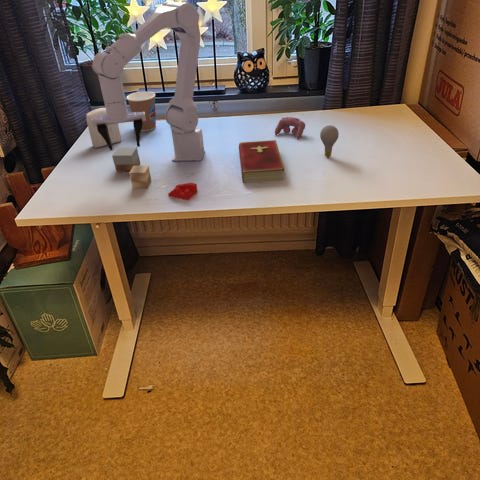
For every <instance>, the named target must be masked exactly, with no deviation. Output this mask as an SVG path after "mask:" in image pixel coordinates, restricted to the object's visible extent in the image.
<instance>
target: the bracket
mask: <svg viewBox="0 0 480 480" xmlns="http://www.w3.org/2000/svg"><path fill="white" fill-rule="evenodd" d="M197 193H198V185H197V183H195V182H186V183H180V184H177V185H175V187H174V188H173V189H172V190H171V191H170V192H168V193H167V195H168V197H172V198H176V199H181V200H185V201H190V200H191V199H192V198H193V197H194V196H195V195H196V194H197Z"/></svg>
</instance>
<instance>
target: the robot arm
mask: <svg viewBox="0 0 480 480" xmlns="http://www.w3.org/2000/svg"><path fill="white" fill-rule="evenodd" d="M199 20H200V13H199V12H198V11H197V9H196V8H195V6H194V5H193V4H192V3H190V2H179V1H177V2H176V1H173V0H167V1H165V2H163V3H162V4H161V5H159V6H157V7H156V9H155V11H154V12H153V13H152V14H151V15H150V16H149V17H148V18H147V19H146V20H145V21H144V22H143V23H142V24H141V25H140V26H139V27H138V28H137V29H136V30H135V31H134V32H133V33H129V32H125V33H120V34H119V35H118V36H117V37H118V39H117V40H116V41H114V43H112V44H111V45H110V46H109V45H108V46H106V47H105V51H102V52H101V51H100V52H97V53H96V54H95V55H94V57H93V59H92V64H91V68H92V70H93V72H94V73H95V74H96V75H98V76H97V78H98V80H99V85H100V89H101V93H102V94H101V95H102V98H103V102H104V103H103V104H104V106H105V107H104V108H106V112H107V115H105V116H101V117H96V118H92V119H91V122H92V126H93V127H97V130H98V132H99V133H100V134H101V136H102V137H103V138H104V140H105V141H106V143H107V145H106V146H108V148H109V151H110V152H111V151H113V150H114V148H113V147H114V146H113V144H112V143H111V139H110V136H109V131H108V126H107V125H109V124H117V123H118V124H124V123H133V129H134V133H135V138H136V147H137V148H140V147H141V144H140V139H141V138H140V137H141V132H142V131H141V129H142V125H143V123H142V121H146V117H145V112H130V111H129V108H128V105H127V98H126V95H125V94H126V93H125V91H124V90H125V89H124V84H123V80H122V74H123V73H124V68H125V66H127V65H128V63H130V62H131V61H132V60H133V59H135V58H136V57H137V56H138V55H139V54H140V53H141V52H142V45H143V44H145V43H146V42H148V41H149V40H150V39H152V38H153V37H154V36H155V35H156V34H158V33H159V32H160V31H162V30H163V29H171V30H172V31H173V32H174V33H175V34H176V35H177V37H178V39H180V44H179V45H180V46H179V53H178V54H179V55H178V61H177V62H178V63H177V71H176V72H177V73H176V78H175V79H176V80H175V81H176V82H175V87H174V88H175V89H174V95H173V97H172V98H170V100H169V101H168V107H167V108H166V111H165V114H164V118H165V121H166V124H168V125H169V127H170V129H171V137H172V144H173V150H174V151H173V152H174V153H173V156H172V159H171V161H172V162H178V161H179V162H180V161H181V162H182V161H184V162H185V161H202V160H203V156H204V153H205V146H204V136H203V130H202V129H201V128H197V126H198V124H199V118H198V106H197V104H196V103H195V101H194V99H193V98H194V92H195V91H194V90H195V83H196V75H197V68H198V67H197V66H198V60H199V52H200V46H201V45H200V44H201V38H202V37H201V35H202V34H201V31H200V26H199V25H200V24H199V22H200V21H199Z"/></svg>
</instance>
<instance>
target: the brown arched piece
mask: <svg viewBox="0 0 480 480" xmlns="http://www.w3.org/2000/svg"><path fill="white" fill-rule="evenodd" d="M291 127H292V129H291ZM305 129H306V123H305V122H304V121H303V120H301V119H299V118H298V117H297V118H296V117H292V116H287V117H282V118H281V119H279V122H278V123H277V125H276V127H275V129H274V135H275V136H278V135H279V134H281V132H282V131H283V133H284V134H286V133H288V134H290V132H291V134H292V135H293V136H296V139H297V140H300V139H301V137H302V136H303V134H304V130H305ZM277 134H278V135H277ZM299 138H300V139H299Z"/></svg>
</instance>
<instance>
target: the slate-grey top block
mask: <svg viewBox="0 0 480 480" xmlns="http://www.w3.org/2000/svg"><path fill="white" fill-rule="evenodd" d="M138 156H139V150H138V147H137V146H125V147H123V146H122V147H121V146H120V147H119V146H118V147H117V148H116V150H115V151H114V152H113V153H112V155H111V157H112V161H113V164H114V166H115V165H130V164H134V163H135V161H136V160H137V158H138ZM139 157H140V156H139Z"/></svg>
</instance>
